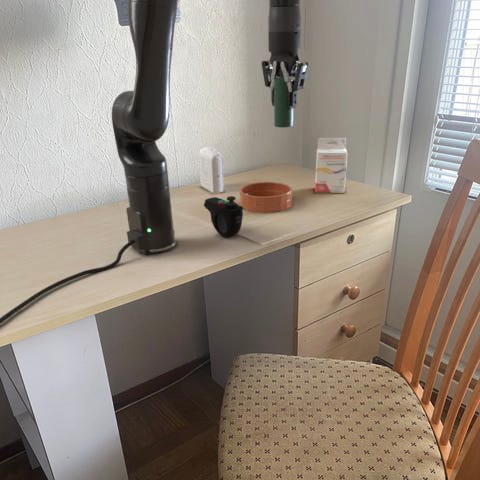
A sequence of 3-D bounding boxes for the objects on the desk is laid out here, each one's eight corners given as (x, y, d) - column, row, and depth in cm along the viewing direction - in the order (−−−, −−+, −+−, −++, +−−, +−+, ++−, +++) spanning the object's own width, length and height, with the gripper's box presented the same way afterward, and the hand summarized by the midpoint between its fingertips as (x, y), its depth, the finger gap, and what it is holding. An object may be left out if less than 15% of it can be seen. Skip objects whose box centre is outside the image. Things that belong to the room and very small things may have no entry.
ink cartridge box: (315, 193, 151) (317, 141, 143) (314, 188, 155) (316, 137, 148) (344, 193, 150) (348, 141, 142) (343, 188, 154) (347, 137, 147)
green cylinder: (283, 128, 129) (284, 80, 123) (270, 126, 132) (270, 78, 126) (297, 125, 131) (297, 77, 126) (283, 123, 134) (283, 76, 129)
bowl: (264, 217, 135) (264, 200, 132) (229, 205, 144) (229, 189, 142) (302, 205, 142) (302, 188, 140) (267, 194, 152) (267, 179, 150)
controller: (232, 244, 120) (230, 202, 115) (203, 229, 129) (200, 190, 123) (247, 239, 122) (245, 198, 117) (217, 225, 131) (215, 186, 126)
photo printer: (226, 192, 155) (224, 149, 149) (213, 194, 153) (210, 152, 147) (211, 184, 163) (209, 143, 156) (199, 186, 161) (196, 145, 155)
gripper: (251, 30, 123) (253, 106, 132) (295, 29, 114) (294, 112, 122) (274, 28, 127) (274, 102, 136) (318, 28, 118) (315, 107, 127)
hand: (284, 106), depth 129 cm, fingers closed on green cylinder, 5 cm apart
